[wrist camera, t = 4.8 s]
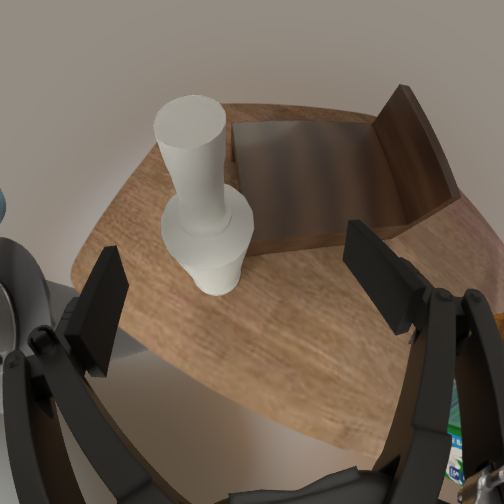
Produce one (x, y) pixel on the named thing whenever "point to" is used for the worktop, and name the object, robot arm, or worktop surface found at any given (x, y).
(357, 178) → the shelf
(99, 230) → the worktop surface
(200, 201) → the bottle
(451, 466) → the milk carton
